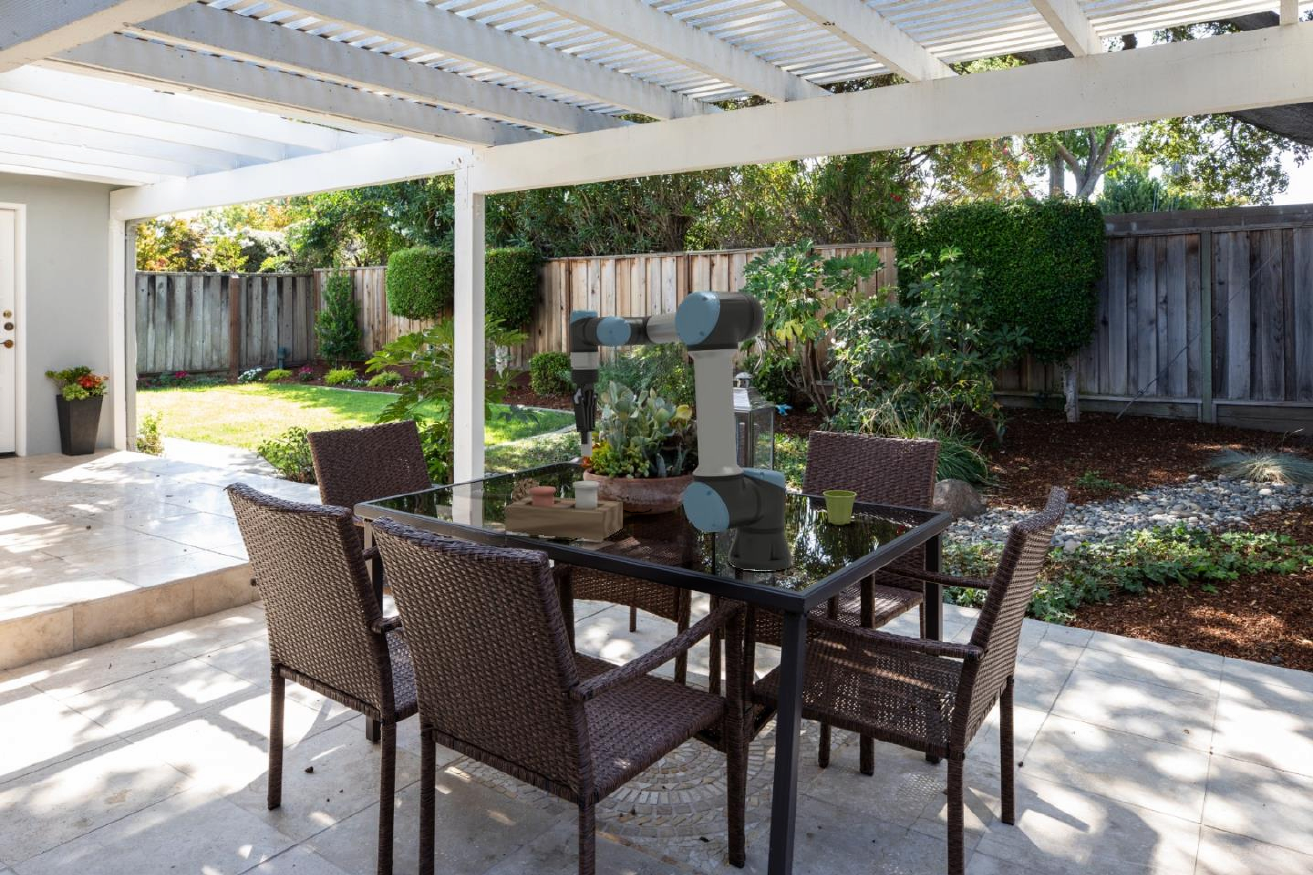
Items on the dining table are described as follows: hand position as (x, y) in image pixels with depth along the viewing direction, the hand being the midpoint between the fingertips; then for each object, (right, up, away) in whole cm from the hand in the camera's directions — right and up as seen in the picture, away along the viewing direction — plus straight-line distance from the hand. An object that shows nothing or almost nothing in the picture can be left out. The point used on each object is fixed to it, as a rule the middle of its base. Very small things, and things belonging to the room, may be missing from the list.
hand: (586, 455), depth 249 cm
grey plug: (0, -18, +3) cm, 19 cm away
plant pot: (+72, -20, +17) cm, 76 cm away
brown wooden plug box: (-6, -21, +5) cm, 23 cm away
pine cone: (-20, -18, +30) cm, 40 cm away
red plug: (-13, -20, +7) cm, 25 cm away
